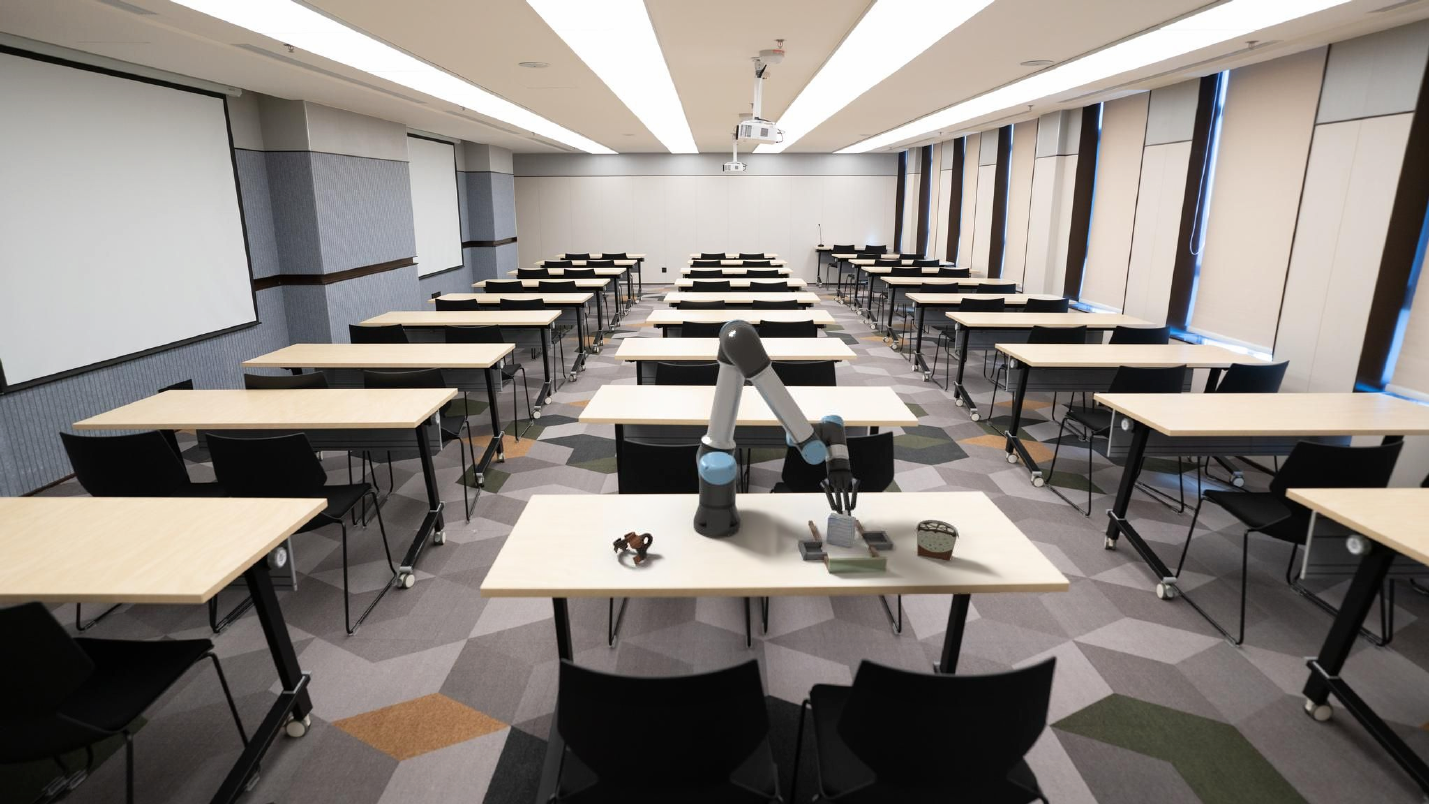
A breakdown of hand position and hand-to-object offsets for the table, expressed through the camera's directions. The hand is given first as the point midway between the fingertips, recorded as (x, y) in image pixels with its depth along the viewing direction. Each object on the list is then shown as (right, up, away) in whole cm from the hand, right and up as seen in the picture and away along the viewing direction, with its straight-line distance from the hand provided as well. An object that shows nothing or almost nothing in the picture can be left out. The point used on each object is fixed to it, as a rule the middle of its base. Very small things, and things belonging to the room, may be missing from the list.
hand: (846, 531), depth 212 cm
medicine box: (-2, -3, -2) cm, 5 cm away
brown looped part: (-65, -5, -11) cm, 66 cm away
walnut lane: (-2, -3, -4) cm, 6 cm away
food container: (+25, -5, -8) cm, 26 cm away
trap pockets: (-2, -4, -5) cm, 7 cm away
